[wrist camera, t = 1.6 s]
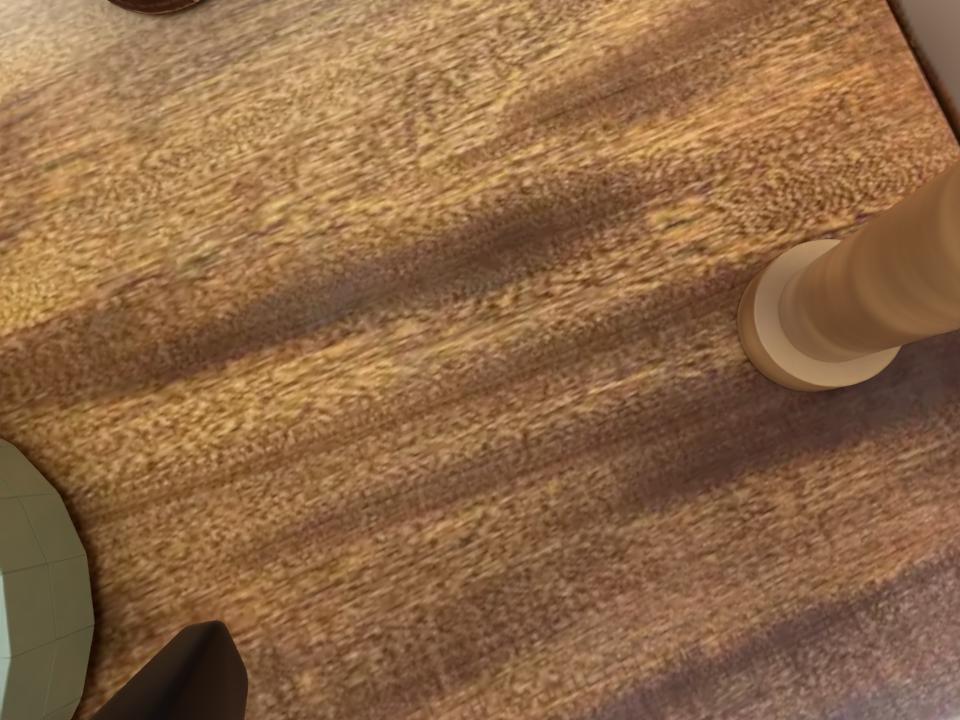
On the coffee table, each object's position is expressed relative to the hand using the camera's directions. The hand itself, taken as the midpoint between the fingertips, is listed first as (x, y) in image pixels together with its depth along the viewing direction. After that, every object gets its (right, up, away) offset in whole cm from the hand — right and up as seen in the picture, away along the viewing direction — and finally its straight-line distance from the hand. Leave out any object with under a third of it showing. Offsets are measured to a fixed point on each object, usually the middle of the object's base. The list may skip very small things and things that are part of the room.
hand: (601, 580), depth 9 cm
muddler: (+9, +4, +15) cm, 18 cm away
